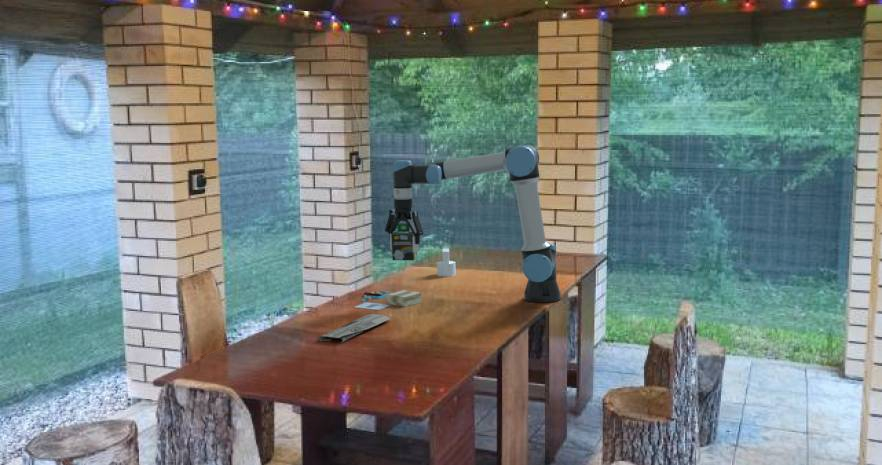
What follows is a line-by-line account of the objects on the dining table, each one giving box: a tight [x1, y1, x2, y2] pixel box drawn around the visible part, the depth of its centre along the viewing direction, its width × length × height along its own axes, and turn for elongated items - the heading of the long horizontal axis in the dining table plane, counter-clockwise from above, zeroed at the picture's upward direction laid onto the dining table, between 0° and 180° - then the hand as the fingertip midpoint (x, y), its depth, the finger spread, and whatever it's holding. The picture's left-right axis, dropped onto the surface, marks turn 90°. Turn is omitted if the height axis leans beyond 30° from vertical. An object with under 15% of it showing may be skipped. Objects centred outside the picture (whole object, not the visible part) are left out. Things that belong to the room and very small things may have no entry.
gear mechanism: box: [361, 285, 390, 303], centre depth 365 cm, size 20×5×9 cm
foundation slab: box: [386, 289, 423, 308], centre depth 351 cm, size 10×10×4 cm
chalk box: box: [391, 223, 418, 262], centre depth 348 cm, size 9×9×15 cm
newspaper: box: [317, 313, 392, 344], centre depth 309 cm, size 35×12×4 cm, turn 156°
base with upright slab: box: [436, 248, 457, 278], centre depth 408 cm, size 9×9×12 cm
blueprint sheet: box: [353, 301, 391, 311], centre depth 347 cm, size 12×9×1 cm
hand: (404, 250), depth 349 cm, fingers closed on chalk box, 12 cm apart
